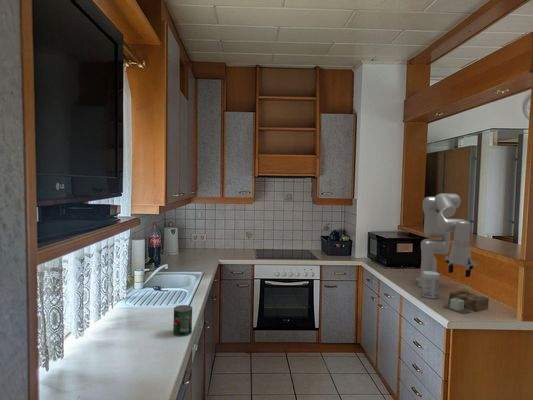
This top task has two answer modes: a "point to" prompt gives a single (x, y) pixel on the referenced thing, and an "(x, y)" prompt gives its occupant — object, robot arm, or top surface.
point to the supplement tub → (430, 284)
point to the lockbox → (471, 300)
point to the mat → (456, 310)
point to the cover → (457, 304)
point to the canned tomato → (182, 320)
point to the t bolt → (464, 289)
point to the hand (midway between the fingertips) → (459, 274)
